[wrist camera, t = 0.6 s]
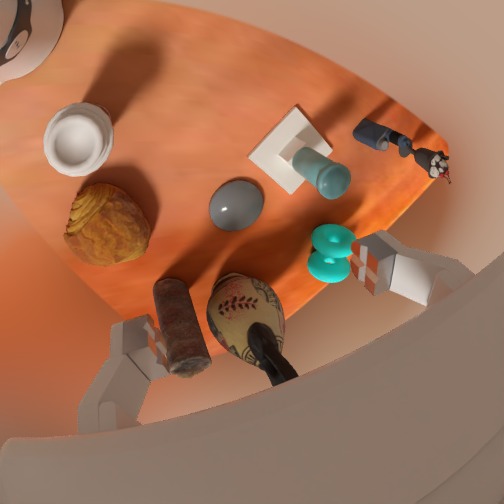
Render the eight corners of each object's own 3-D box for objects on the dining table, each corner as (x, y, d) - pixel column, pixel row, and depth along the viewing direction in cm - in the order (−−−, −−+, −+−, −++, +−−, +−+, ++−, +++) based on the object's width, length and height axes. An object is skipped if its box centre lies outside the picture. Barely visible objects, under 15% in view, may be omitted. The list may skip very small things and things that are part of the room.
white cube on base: (246, 156, 46) (256, 165, 43) (293, 106, 43) (308, 111, 40) (288, 193, 54) (300, 204, 50) (330, 149, 51) (345, 157, 47)
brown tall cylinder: (182, 270, 56) (206, 352, 41) (192, 293, 61) (217, 372, 46) (147, 282, 55) (160, 367, 40) (160, 305, 59) (177, 385, 45)
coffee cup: (112, 156, 38) (104, 187, 29) (59, 149, 34) (35, 178, 25) (127, 99, 34) (121, 110, 25) (70, 91, 29) (45, 101, 20)
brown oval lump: (118, 162, 41) (112, 172, 34) (162, 235, 50) (165, 257, 43) (53, 207, 40) (39, 226, 33) (100, 273, 49) (95, 298, 42)
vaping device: (371, 124, 50) (413, 143, 42) (355, 141, 52) (397, 163, 43) (365, 116, 49) (409, 134, 40) (349, 133, 50) (392, 154, 41)
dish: (197, 212, 50) (198, 215, 49) (234, 169, 47) (236, 171, 47) (236, 237, 56) (238, 239, 55) (271, 199, 53) (273, 201, 53)
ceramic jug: (262, 303, 71) (319, 406, 49) (202, 317, 66) (244, 433, 44) (267, 248, 60) (344, 365, 38) (194, 262, 56) (245, 401, 34)
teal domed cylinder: (284, 162, 44) (313, 185, 38) (306, 138, 43) (339, 157, 36) (303, 181, 48) (332, 205, 41) (323, 159, 46) (356, 180, 40)
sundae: (398, 164, 59) (444, 194, 48) (394, 141, 55) (445, 168, 44) (414, 154, 59) (460, 181, 48) (412, 131, 55) (462, 155, 44)
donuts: (341, 218, 63) (367, 243, 56) (334, 252, 69) (356, 278, 62) (303, 225, 60) (328, 253, 53) (298, 261, 67) (320, 290, 59)
